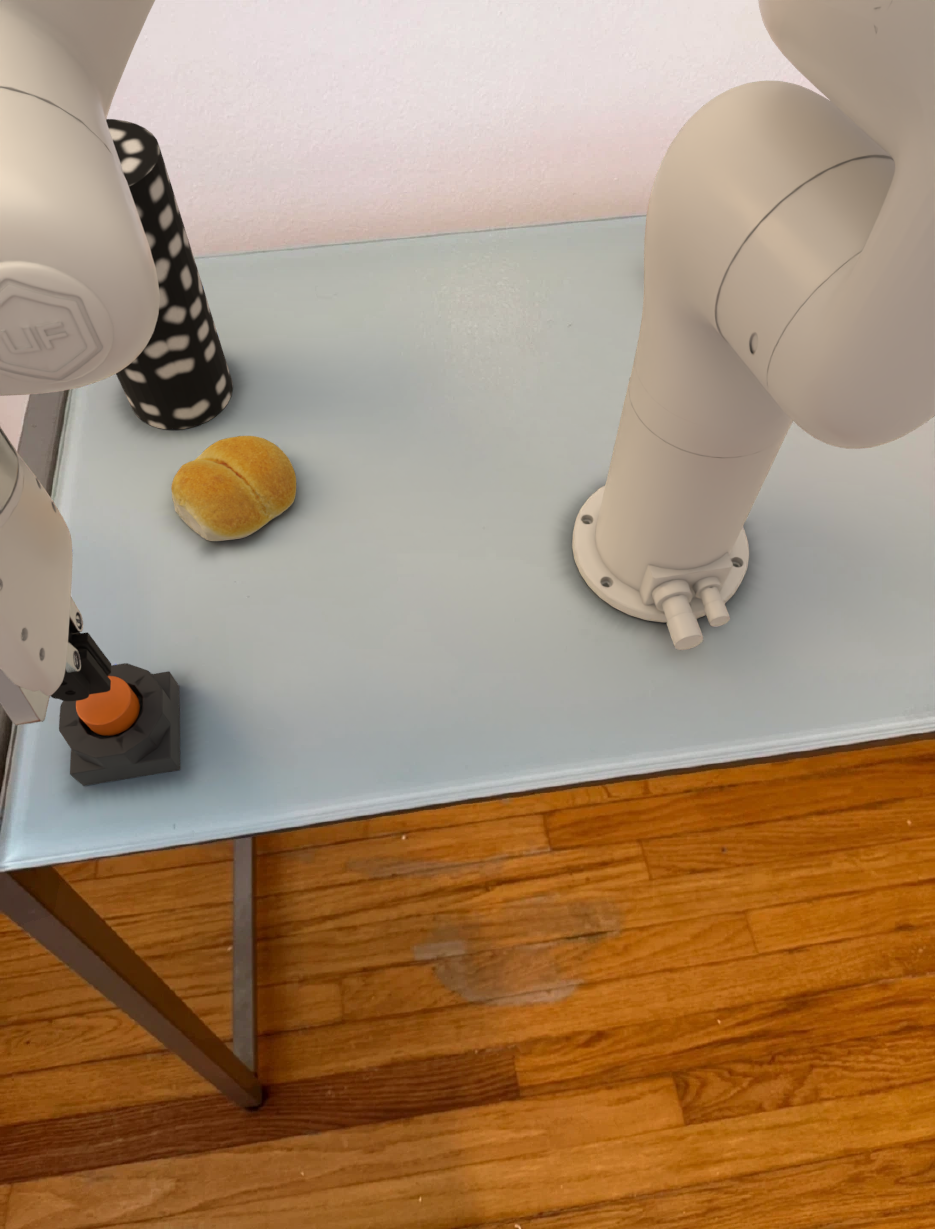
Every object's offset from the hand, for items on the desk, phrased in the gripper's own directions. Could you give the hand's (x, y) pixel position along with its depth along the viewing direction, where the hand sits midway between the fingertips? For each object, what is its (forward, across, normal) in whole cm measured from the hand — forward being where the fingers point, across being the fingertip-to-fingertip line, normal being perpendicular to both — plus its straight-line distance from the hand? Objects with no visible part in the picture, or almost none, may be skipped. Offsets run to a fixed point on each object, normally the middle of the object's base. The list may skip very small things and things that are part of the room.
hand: (83, 682), depth 49 cm
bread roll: (+8, -18, +8) cm, 21 cm away
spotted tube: (+8, -30, +4) cm, 31 cm away
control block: (+8, 0, 0) cm, 8 cm away
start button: (+4, 0, 0) cm, 4 cm away
